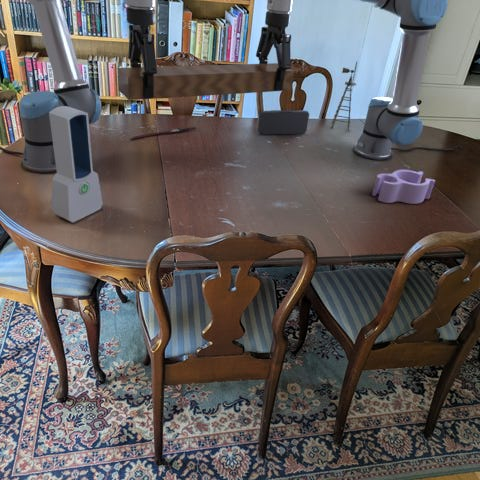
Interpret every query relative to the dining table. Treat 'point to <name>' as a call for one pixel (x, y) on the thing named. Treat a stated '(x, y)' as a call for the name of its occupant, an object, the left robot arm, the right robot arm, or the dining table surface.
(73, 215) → the electronic device
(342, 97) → the miniature windmill
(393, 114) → the right robot arm
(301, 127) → the handheld gaming console
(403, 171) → the clip
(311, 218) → the dining table surface
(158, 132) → the sword
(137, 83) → the slab
